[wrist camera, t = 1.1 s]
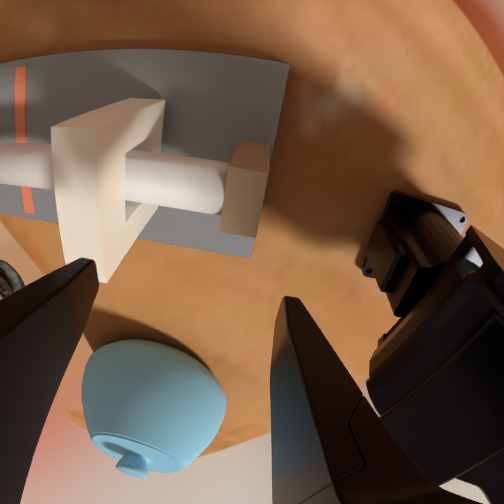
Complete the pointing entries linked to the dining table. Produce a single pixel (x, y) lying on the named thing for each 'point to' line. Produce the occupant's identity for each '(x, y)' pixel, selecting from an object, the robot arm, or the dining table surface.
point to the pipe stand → (173, 137)
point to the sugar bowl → (150, 406)
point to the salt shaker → (9, 280)
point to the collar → (102, 179)
